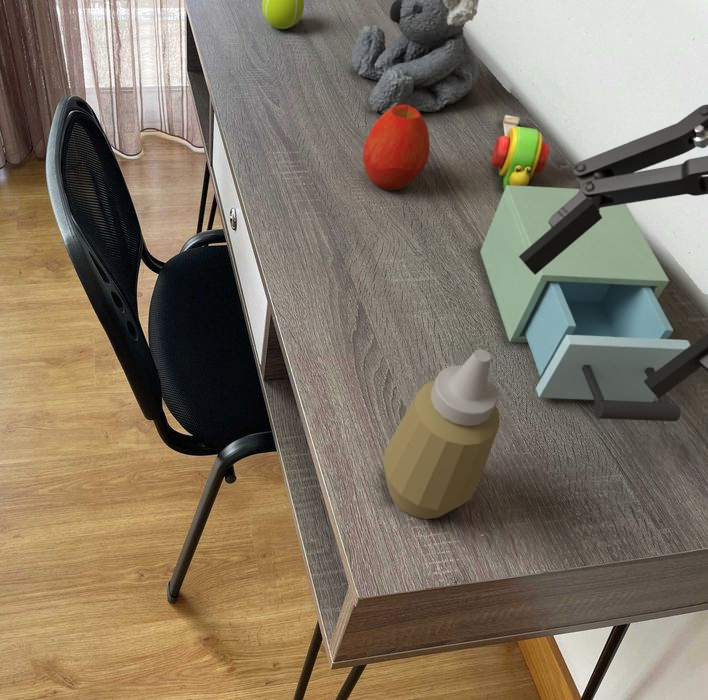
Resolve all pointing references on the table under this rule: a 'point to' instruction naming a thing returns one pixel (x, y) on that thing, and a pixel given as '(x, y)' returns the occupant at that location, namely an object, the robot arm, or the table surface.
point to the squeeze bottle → (444, 440)
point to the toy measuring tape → (519, 153)
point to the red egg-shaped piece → (396, 148)
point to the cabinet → (569, 266)
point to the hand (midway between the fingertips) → (583, 323)
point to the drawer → (602, 347)
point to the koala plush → (419, 56)
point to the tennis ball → (282, 12)
